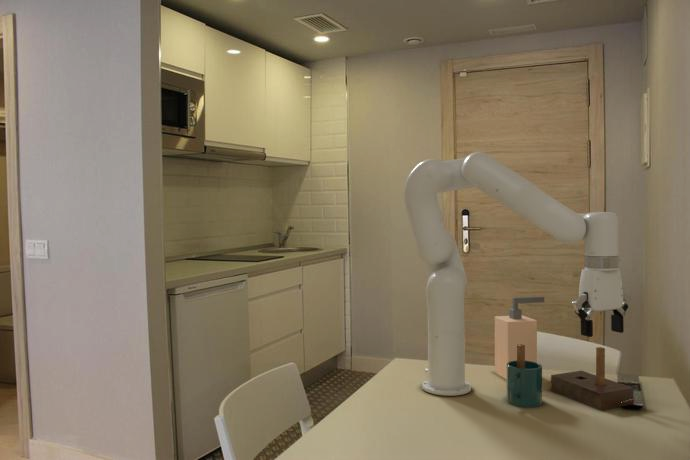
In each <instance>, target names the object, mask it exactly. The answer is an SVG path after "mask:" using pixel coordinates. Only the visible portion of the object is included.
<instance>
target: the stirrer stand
mask: <svg viewBox="0 0 690 460" xmlns="http://www.w3.org/2000/svg"><path fill="white" fill-rule="evenodd" d="M550 391H552V392H554V393H557V394H559V395H562V396H564V397H567V398H569V399H572V400H574V401H577V402H579V403H581V404H584V405H587V406H589V407H591V408H594V409H597V410H599V411H605V410H611V409H615V408H621V407H627V406H631V405H634V387H632V386H628V385H626V384H623V383H620V382H617V381H614V380H611V379H608V378H605V386H601V387H600V386H598V385H596V374H593V373H590V372H587V371H584V370H576V371H569V372H562V373H556V374H551V375H550ZM629 399H633V401H627V402H623V401H626V400H629ZM621 402H622V403H621Z"/></svg>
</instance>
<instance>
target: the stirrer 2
mask: <svg viewBox="0 0 690 460" xmlns="http://www.w3.org/2000/svg"><path fill="white" fill-rule="evenodd" d="M595 363H596V364H595V375H596V385H598V386H600V387H601V386H605V379H606V348H605V347H602V346H598V347H597V346H596V347H595Z"/></svg>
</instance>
